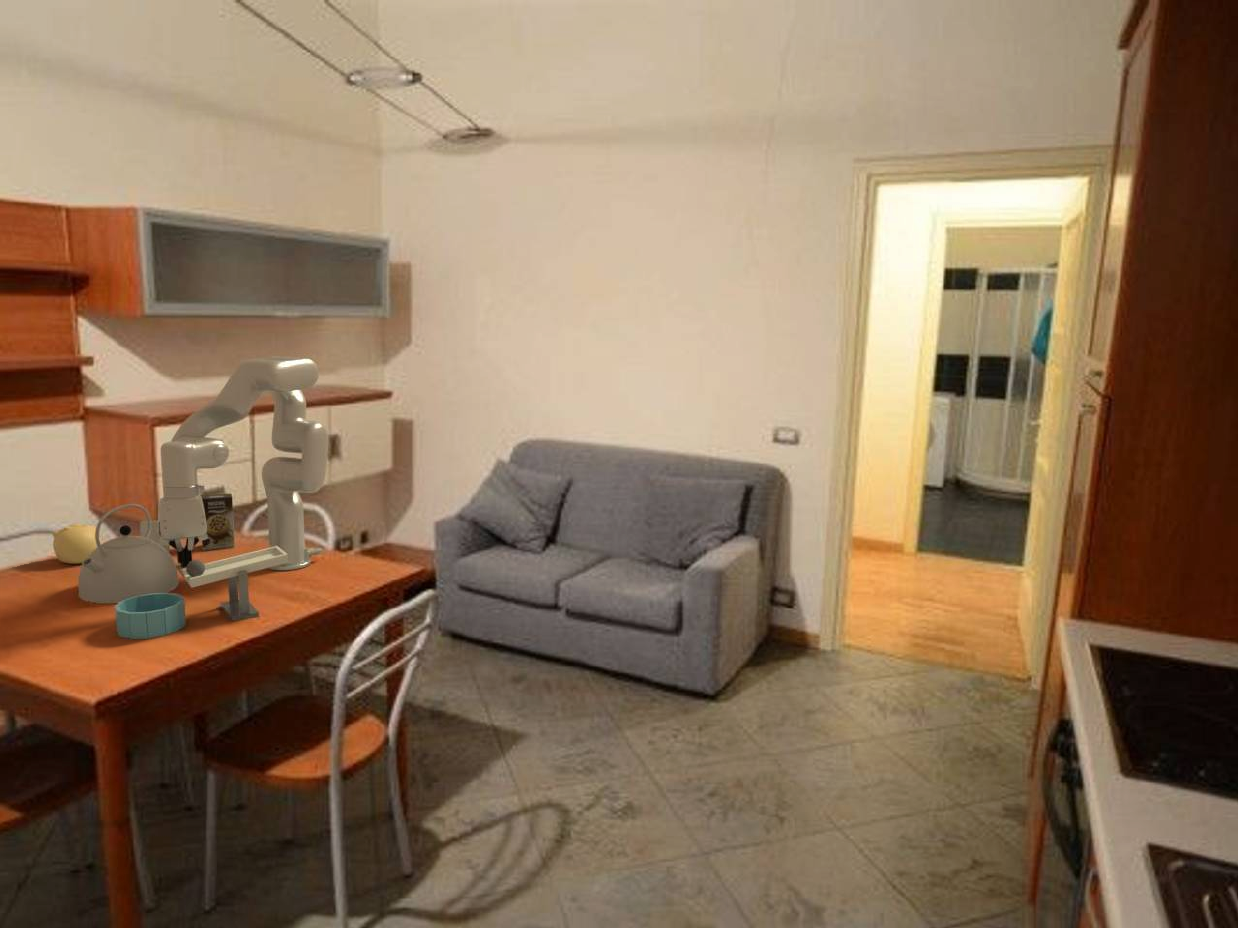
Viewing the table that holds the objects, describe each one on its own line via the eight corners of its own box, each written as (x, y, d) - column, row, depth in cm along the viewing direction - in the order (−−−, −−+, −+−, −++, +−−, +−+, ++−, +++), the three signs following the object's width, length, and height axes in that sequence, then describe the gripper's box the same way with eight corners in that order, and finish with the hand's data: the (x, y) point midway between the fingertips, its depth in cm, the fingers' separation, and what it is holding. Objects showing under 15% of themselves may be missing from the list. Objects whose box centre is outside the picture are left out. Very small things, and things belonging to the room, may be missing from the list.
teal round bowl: (178, 612, 201) (176, 589, 200) (190, 630, 191) (188, 605, 190) (113, 624, 193) (111, 599, 192) (122, 643, 183) (120, 617, 182)
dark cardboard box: (202, 550, 252) (199, 499, 249) (202, 545, 258) (198, 494, 255) (235, 547, 256) (232, 496, 253) (234, 542, 262) (231, 492, 259)
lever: (268, 549, 219) (266, 537, 218) (289, 567, 205) (287, 554, 204) (177, 572, 206) (174, 559, 206) (192, 592, 192) (190, 579, 191)
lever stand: (246, 601, 210) (243, 558, 208) (259, 616, 201) (256, 570, 199) (220, 606, 206) (217, 562, 204) (232, 621, 197) (229, 574, 195)
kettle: (126, 610, 202) (119, 521, 198) (48, 601, 207) (39, 514, 203) (197, 579, 226) (192, 499, 222) (126, 572, 231) (119, 493, 227)
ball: (193, 554, 197) (180, 568, 196) (196, 559, 194) (184, 572, 193) (206, 564, 199) (194, 577, 198) (210, 568, 196) (198, 582, 195)
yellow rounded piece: (98, 552, 247) (95, 517, 245) (106, 562, 238) (103, 526, 236) (52, 559, 240) (48, 523, 238) (59, 569, 231) (55, 532, 229)
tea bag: (166, 554, 247) (164, 522, 246) (141, 555, 246) (138, 523, 244) (169, 551, 251) (167, 519, 249) (144, 552, 249) (142, 519, 247)
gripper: (210, 486, 209) (214, 557, 212) (143, 492, 200) (148, 566, 203) (217, 492, 203) (221, 564, 206) (148, 498, 194) (153, 573, 197)
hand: (185, 564), depth 204 cm, fingers closed
